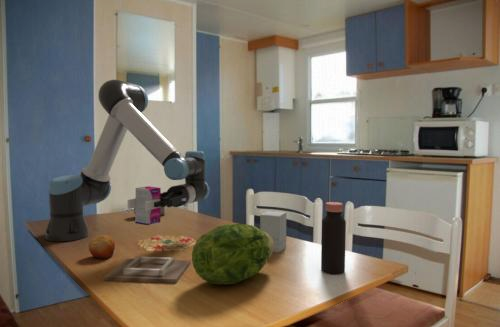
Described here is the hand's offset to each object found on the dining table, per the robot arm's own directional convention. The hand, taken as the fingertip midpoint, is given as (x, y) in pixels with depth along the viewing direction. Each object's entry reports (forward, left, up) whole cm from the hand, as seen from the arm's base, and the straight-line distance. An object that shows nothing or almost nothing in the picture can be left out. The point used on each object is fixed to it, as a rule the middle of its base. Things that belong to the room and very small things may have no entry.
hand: (137, 205), depth 121 cm
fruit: (-13, +4, -18) cm, 23 cm away
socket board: (+7, -8, -18) cm, 21 cm away
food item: (-20, +68, -18) cm, 73 cm away
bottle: (+60, -2, -18) cm, 62 cm away
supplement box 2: (+42, +19, -18) cm, 49 cm away
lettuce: (+33, -11, -18) cm, 39 cm away
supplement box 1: (+2, +5, -7) cm, 8 cm away
